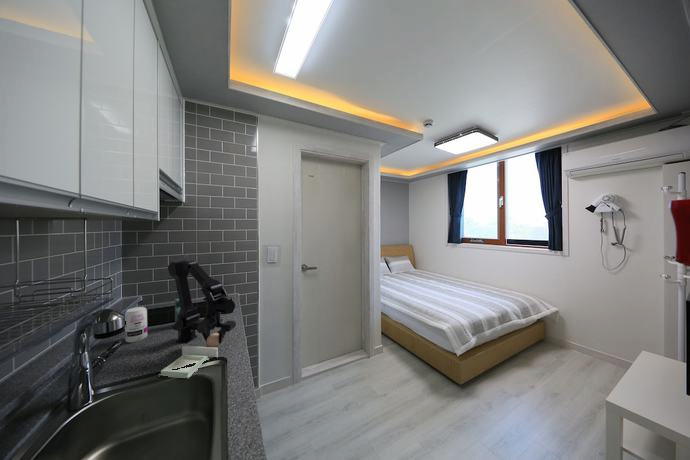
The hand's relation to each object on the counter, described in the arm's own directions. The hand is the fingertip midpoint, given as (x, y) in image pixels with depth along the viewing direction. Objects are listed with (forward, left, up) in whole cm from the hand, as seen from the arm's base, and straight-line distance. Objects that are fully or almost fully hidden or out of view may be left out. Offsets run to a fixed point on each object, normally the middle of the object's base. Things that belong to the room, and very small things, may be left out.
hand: (214, 343), depth 108 cm
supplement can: (-43, +3, -2) cm, 43 cm away
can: (-33, +20, -2) cm, 39 cm away
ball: (0, 0, -2) cm, 2 cm away
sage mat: (-1, -16, -2) cm, 16 cm away
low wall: (-1, -8, -2) cm, 8 cm away
